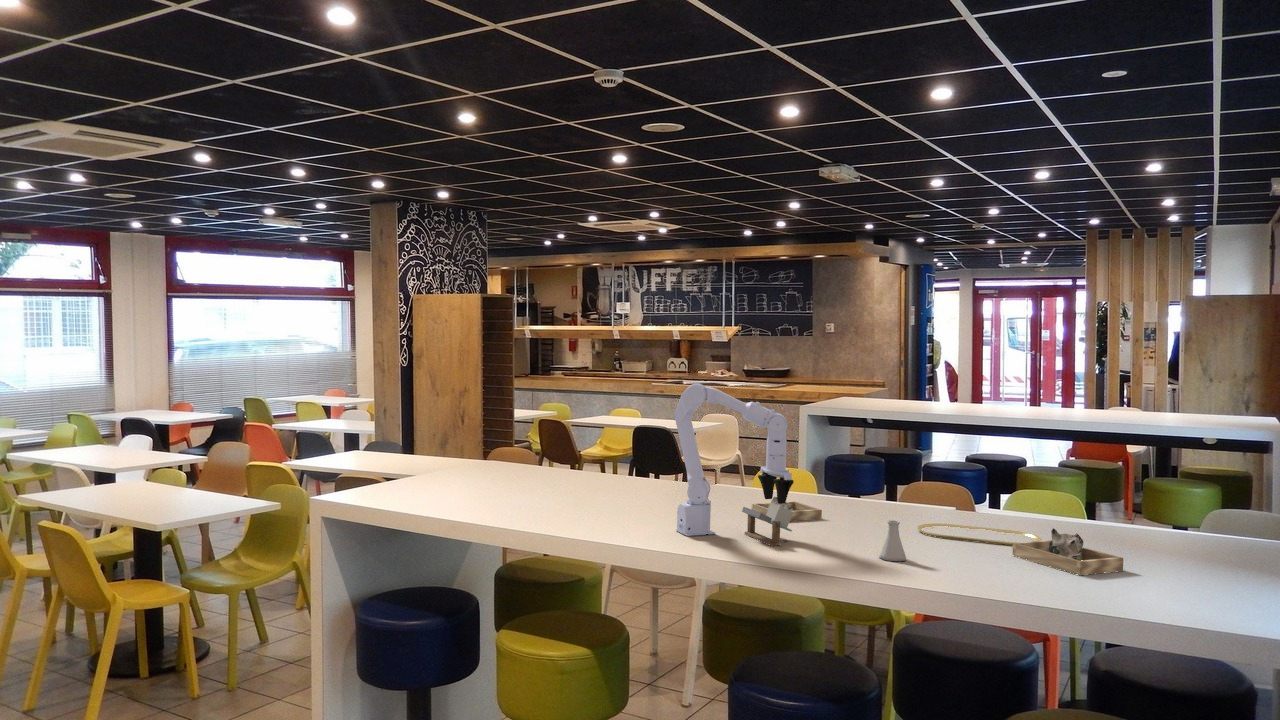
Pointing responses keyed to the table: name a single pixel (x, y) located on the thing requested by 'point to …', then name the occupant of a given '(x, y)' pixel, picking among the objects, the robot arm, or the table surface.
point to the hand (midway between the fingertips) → (774, 501)
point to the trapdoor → (761, 517)
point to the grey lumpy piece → (1066, 545)
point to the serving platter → (975, 538)
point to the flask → (893, 544)
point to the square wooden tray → (798, 508)
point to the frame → (751, 532)
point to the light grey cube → (779, 514)
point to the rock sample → (781, 504)
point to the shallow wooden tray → (1089, 565)
